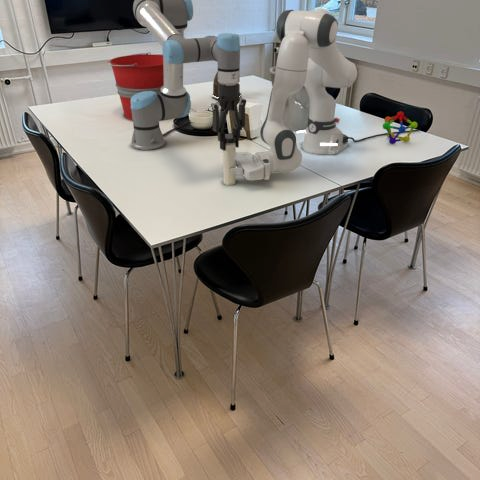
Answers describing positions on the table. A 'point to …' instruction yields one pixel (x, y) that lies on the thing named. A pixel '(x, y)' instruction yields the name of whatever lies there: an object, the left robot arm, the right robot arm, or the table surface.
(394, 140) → the educational toy
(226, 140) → the lid
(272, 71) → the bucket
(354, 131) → the table surface
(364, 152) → the table surface
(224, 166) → the jar
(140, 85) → the bucket
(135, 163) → the table surface
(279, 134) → the right robot arm
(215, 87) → the bell
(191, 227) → the table surface
